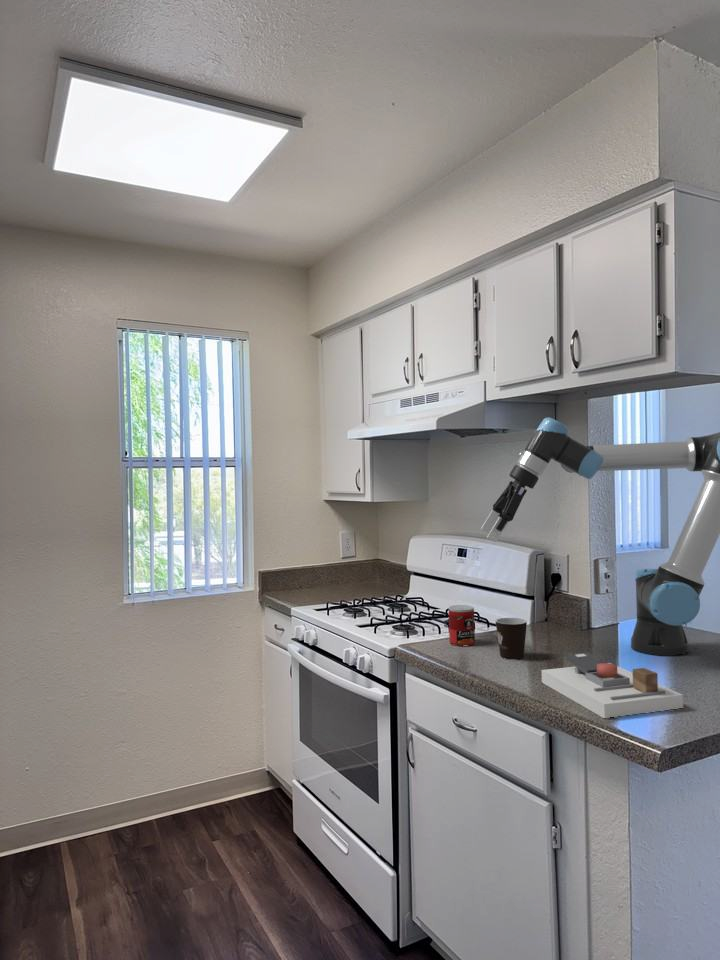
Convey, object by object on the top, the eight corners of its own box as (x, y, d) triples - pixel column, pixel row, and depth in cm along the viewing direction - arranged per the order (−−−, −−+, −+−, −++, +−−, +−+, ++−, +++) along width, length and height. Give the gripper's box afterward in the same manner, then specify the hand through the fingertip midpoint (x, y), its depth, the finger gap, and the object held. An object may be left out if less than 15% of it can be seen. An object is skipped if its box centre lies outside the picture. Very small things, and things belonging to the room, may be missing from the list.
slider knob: (644, 685, 150) (644, 667, 150) (657, 691, 146) (657, 673, 146) (632, 687, 149) (632, 669, 149) (645, 693, 145) (645, 674, 145)
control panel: (610, 674, 169) (609, 657, 169) (683, 708, 144) (682, 688, 144) (541, 682, 165) (541, 664, 165) (604, 718, 139) (604, 697, 139)
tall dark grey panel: (588, 656, 167) (588, 651, 167) (609, 672, 159) (610, 667, 158) (566, 658, 166) (566, 653, 165) (586, 675, 157) (587, 669, 157)
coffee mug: (528, 661, 184) (527, 624, 183) (496, 660, 185) (495, 623, 185) (526, 650, 195) (525, 615, 195) (496, 649, 197) (495, 615, 197)
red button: (609, 671, 157) (609, 662, 157) (621, 676, 153) (621, 667, 153) (593, 672, 156) (593, 664, 156) (604, 678, 152) (604, 669, 152)
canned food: (458, 647, 199) (457, 610, 199) (444, 642, 207) (443, 606, 207) (480, 644, 203) (479, 608, 202) (465, 639, 210) (464, 603, 210)
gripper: (508, 460, 199) (471, 521, 201) (524, 466, 174) (481, 536, 176) (530, 473, 199) (493, 534, 201) (549, 481, 174) (506, 551, 176)
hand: (487, 535), depth 189 cm, fingers open, 13 cm apart
